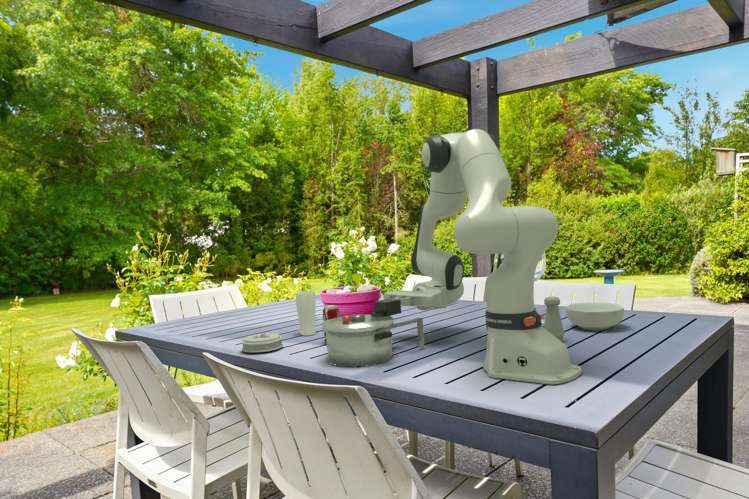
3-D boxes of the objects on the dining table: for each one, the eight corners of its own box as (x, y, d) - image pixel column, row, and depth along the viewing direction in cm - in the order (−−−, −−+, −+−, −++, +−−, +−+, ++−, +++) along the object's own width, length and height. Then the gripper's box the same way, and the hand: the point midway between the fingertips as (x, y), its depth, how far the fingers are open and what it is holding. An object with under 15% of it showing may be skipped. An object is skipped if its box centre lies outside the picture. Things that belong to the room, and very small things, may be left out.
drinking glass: (320, 332, 184) (317, 290, 184) (314, 336, 178) (311, 293, 177) (302, 332, 186) (299, 291, 185) (295, 336, 179) (292, 294, 178)
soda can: (338, 345, 162) (336, 307, 162) (322, 345, 163) (320, 307, 163) (343, 341, 167) (340, 304, 167) (327, 341, 168) (325, 305, 168)
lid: (280, 353, 156) (279, 337, 156) (238, 356, 156) (237, 340, 155) (285, 344, 169) (284, 329, 169) (246, 347, 168) (245, 332, 168)
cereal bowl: (556, 330, 164) (555, 308, 163) (581, 321, 175) (580, 300, 174) (610, 336, 151) (609, 312, 151) (633, 326, 162) (632, 304, 162)
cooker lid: (420, 319, 146) (419, 301, 146) (354, 335, 129) (353, 315, 129) (372, 313, 161) (371, 297, 161) (307, 328, 144) (306, 309, 144)
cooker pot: (432, 349, 148) (430, 318, 148) (363, 372, 129) (361, 336, 129) (378, 340, 164) (376, 312, 164) (310, 359, 146) (308, 328, 145)
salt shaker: (545, 338, 152) (543, 295, 152) (566, 339, 150) (564, 295, 149) (541, 343, 147) (539, 298, 147) (562, 344, 145) (560, 298, 144)
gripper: (400, 284, 170) (370, 290, 161) (449, 287, 156) (419, 293, 146) (402, 303, 171) (371, 310, 161) (451, 308, 156) (420, 315, 146)
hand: (394, 302), depth 154 cm, fingers closed
